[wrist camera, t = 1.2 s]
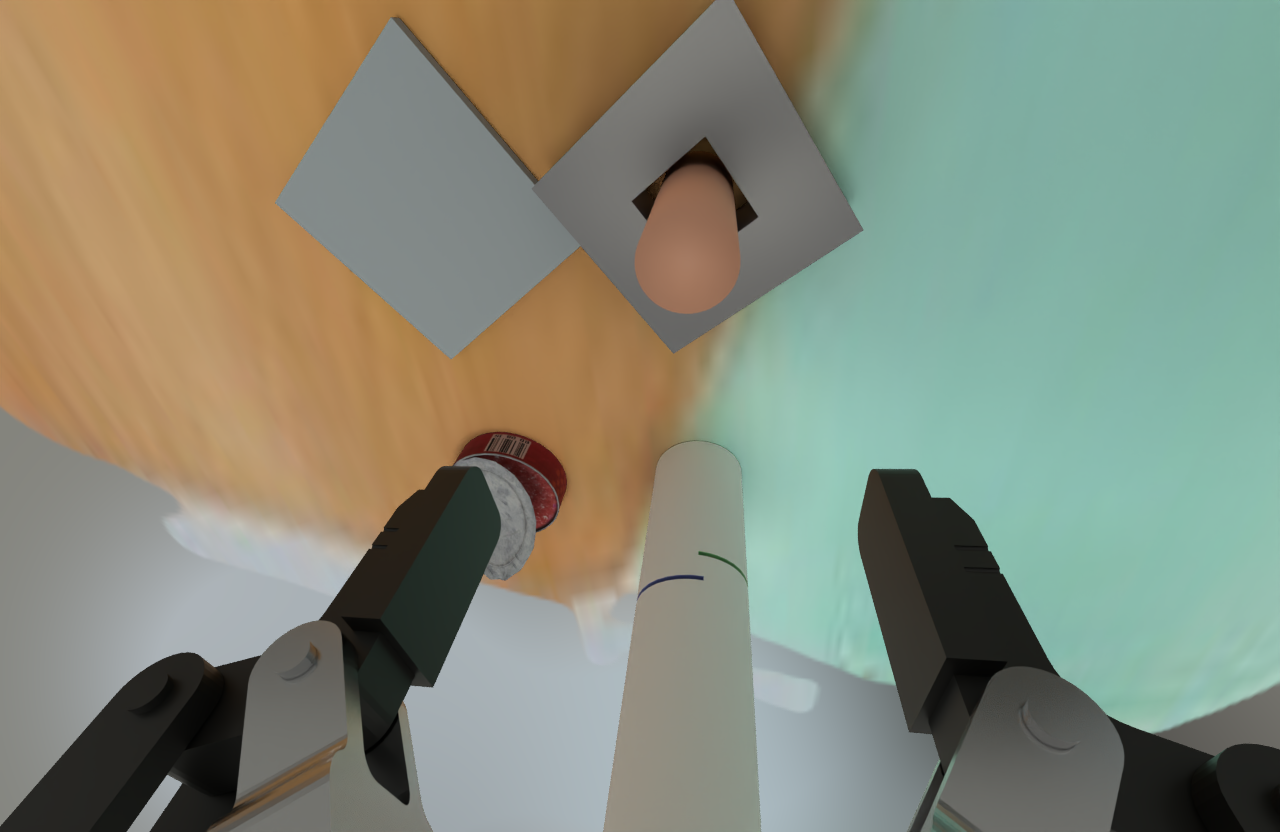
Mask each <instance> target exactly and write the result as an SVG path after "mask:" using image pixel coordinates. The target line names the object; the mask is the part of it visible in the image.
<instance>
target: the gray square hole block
mask: <svg viewBox="0 0 1280 832" xmlns="http://www.w3.org/2000/svg"><path fill="white" fill-rule="evenodd" d="M704 137H706V138H707V140H708V141H709V143H710V144H711V146H712V147H713V149H714V150H715V152H716V153H717V155H718V156H719V158H720V159H721V161H722V162H723V164H724V165H725V167H726V168H727V170H728V171H729V173H730V174H731V176H732V177H733V179H734V180H735V182H736V183H737V185H738V187H739V188H740V190H741V191H742V193H743V194H744V196H745V197H746V199H747V200H748V203H746V204H745V205H744V206H742V207H741V208H740V209H738V210H737V211H736V220H737V230H738V239H739V249H740V271H739V275H738V279H737V281H736V283H735V285H734V287H733V289H732V290H731V292H730V293H729V294H728V295H727V297H725V298H724V299H723V300H722V301H721V302H720V303H719V304H717V305H716V306H714V307H712V308H710V309H708V310H706V311H702V312H699V313H693V314H682V313H675V312H671V311H668V310H666V309H664V308H662V307H660V306H658V305H657V304H655V303H654V302H653V301H652V300H651V299H650V298H649V297H648V296H647V295H646V294H645V293H644V291H643V290H642V288H641V286H640V284H639V282H638V279H637V276H636V272H635V252H636V248H637V245H638V242H639V240H640V237H641V235H642V233H643V230H644V228H645V225H646V223H647V220H648V218H649V215H650V213H651V210H652V208H653V205H654V203H655V201H654V200H653V199H652V197H651V196H650V195H649V193H648V192H647V191H646V188H647V187H648V186H649V185H650V184H652V183H653V182H654V181H655V180H656V179H657V178H658V177H660V176H661V175H662V174H663V173H664V172H665V171H666V170H668V169H669V168H670V167H671V166H672V165H673V164H674V163H676V162H677V161H678V160H679V159H680V158H681V157H682V156H683V155H685V154H686V153H687V152H688V151H689V150H690V149H691V148H693V147H694V146H695V145H696V144H697V143H698V142H699V141H701V140H702V139H703V138H704ZM532 190H533V191H534V192H535V194H536V195H537V196H538V197H539V198H540V199H541V201H542V202H543V203H544V204H545V205H546V206H547V207H548V209H549V210H550V211H551V212H552V213H553V214H554V216H555V217H556V218H557V219H558V220H559V221H560V223H561V224H562V225H563V226H564V227H565V228H566V230H567V231H568V232H569V233H570V234H571V235H572V236H573V238H574V239H575V240H576V241H577V242H578V243H579V245H580V246H581V247H582V248H583V249H584V250H585V252H586V253H587V254H588V255H589V256H590V257H591V259H592V260H593V261H594V262H595V263H596V264H597V265H598V267H599V268H600V269H601V270H602V271H603V272H604V274H605V275H606V276H607V277H608V278H609V279H610V281H611V282H612V283H613V284H614V285H615V286H616V288H617V289H618V290H619V291H620V292H621V293H622V294H623V296H624V297H625V298H626V299H627V300H628V301H629V303H630V304H631V305H632V306H633V307H634V308H635V310H636V311H637V312H638V313H639V314H640V315H641V317H642V318H643V319H644V320H645V321H646V322H647V323H648V325H649V326H650V327H651V328H652V329H653V330H654V332H655V333H656V334H657V335H658V336H659V337H660V339H661V340H662V341H663V342H664V343H665V344H666V345H667V347H668V348H669V349H670V350H671V351H672V352H673V354H674V353H675V352H677V351H678V350H680V349H681V348H683V347H684V346H686V345H687V344H689V343H691V342H692V341H694V340H695V339H697V338H698V337H700V336H701V335H703V334H704V333H706V332H707V331H709V330H711V329H712V328H714V327H715V326H717V325H718V324H720V323H721V322H723V321H724V320H726V319H727V318H729V317H731V316H732V315H734V314H735V313H737V312H738V311H740V310H741V309H743V308H744V307H746V306H747V305H749V304H751V303H752V302H754V301H755V300H757V299H758V298H760V297H761V296H763V295H764V294H766V293H767V292H769V291H771V290H772V289H774V288H775V287H777V286H778V285H780V284H781V283H783V282H784V281H786V280H787V279H789V278H791V277H792V276H794V275H795V274H797V273H798V272H800V271H801V270H803V269H804V268H806V267H808V266H809V265H811V264H812V263H814V262H815V261H817V260H818V259H820V258H821V257H823V256H824V255H826V254H828V253H829V252H831V251H832V250H834V249H835V248H837V247H838V246H840V245H841V244H843V243H844V242H846V241H848V240H849V239H851V238H852V237H854V236H855V235H857V234H858V233H860V232H861V231H863V228H862V227H861V225H860V223H859V221H858V220H857V218H856V216H855V214H854V212H853V211H852V209H851V207H850V205H849V204H848V202H847V200H846V198H845V197H844V195H843V193H842V191H841V189H840V188H839V186H838V184H837V182H836V181H835V179H834V177H833V175H832V174H831V172H830V170H829V168H828V166H827V165H826V163H825V161H824V159H823V158H822V156H821V154H820V152H819V151H818V149H817V147H816V145H815V143H814V142H813V140H812V138H811V136H810V135H809V133H808V131H807V129H806V127H805V126H804V124H803V122H802V120H801V119H800V117H799V115H798V113H797V112H796V110H795V108H794V106H793V104H792V103H791V101H790V99H789V97H788V96H787V94H786V92H785V90H784V89H783V87H782V85H781V83H780V81H779V80H778V78H777V76H776V74H775V73H774V71H773V69H772V67H771V66H770V64H769V62H768V60H767V58H766V57H765V55H764V53H763V51H762V50H761V48H760V46H759V44H758V43H757V41H756V39H755V37H754V35H753V34H752V32H751V30H750V28H749V27H748V25H747V23H746V21H745V19H744V18H743V16H742V14H741V12H740V11H739V9H738V7H737V5H736V4H735V2H734V0H715V1H714V2H713V3H712V4H711V5H710V6H709V7H708V8H707V9H706V10H705V12H704V13H703V14H702V15H701V16H700V17H699V18H698V19H697V20H696V21H695V22H694V23H693V24H692V25H691V26H690V27H689V28H688V29H687V30H686V31H685V32H684V33H683V34H682V35H681V36H680V37H679V38H678V39H677V40H676V41H675V42H674V43H673V44H672V45H671V46H670V47H669V48H668V49H667V50H666V51H665V52H664V53H663V54H662V56H661V57H660V58H659V59H658V60H657V61H656V62H655V63H654V64H653V65H652V66H651V67H650V68H649V69H648V70H647V71H646V72H645V73H644V74H643V75H642V76H641V77H640V78H639V79H638V80H637V81H636V82H635V83H634V84H633V85H632V86H631V87H630V88H629V89H628V90H627V91H626V92H625V93H624V94H623V95H622V96H621V97H620V98H619V100H618V101H617V102H616V103H615V104H614V105H613V106H612V107H611V108H610V109H609V110H608V111H607V112H606V113H605V114H604V115H603V116H602V117H601V118H600V119H599V120H598V121H597V122H596V123H595V124H594V125H593V126H592V127H591V128H590V129H589V130H588V131H587V132H586V133H585V134H584V135H583V136H582V137H581V138H580V139H579V140H578V141H577V142H576V144H575V145H574V146H573V147H572V148H571V149H570V150H569V151H568V152H567V153H566V154H565V155H564V156H563V157H562V158H561V159H560V160H559V161H558V162H557V163H556V164H555V165H554V166H553V167H552V168H551V169H550V170H549V171H548V172H547V173H546V174H545V175H544V176H543V177H542V178H541V179H540V180H539V181H538V182H537V183H536V184H535V185H534V187H533V188H532Z"/></svg>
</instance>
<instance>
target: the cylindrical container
mask: <svg viewBox="0 0 1280 832" xmlns="http://www.w3.org/2000/svg"><path fill="white" fill-rule="evenodd" d="M603 832H761V819H760V801H759V784H758V764H757V747H756V728H755V709H754V691H753V673H752V654H751V637H750V618H749V600H748V581H747V563H746V545H745V527H744V508H743V490H742V473H741V467H740V464H739V462H738V460H737V459H736V458H735V456H734V455H733V454H732V453H730V452H729V451H728V450H727V449H725V448H723V447H721V446H719V445H716V444H714V443H710V442H705V441H689V442H684V443H680V444H678V445H675V446H673V447H671V448H670V449H668V450H667V451H665V453H664V454H663V455H662V456H661V457H660V459H659V461H658V463H657V467H656V473H655V480H654V487H653V494H652V501H651V507H650V514H649V521H648V528H647V535H646V542H645V549H644V555H643V562H642V569H641V576H640V583H639V590H638V597H637V604H636V610H635V617H634V624H633V631H632V638H631V645H630V651H629V658H628V665H627V672H626V680H625V686H624V693H623V699H622V707H621V713H620V720H619V727H618V734H617V740H616V747H615V754H614V762H613V768H612V775H611V782H610V788H609V796H608V802H607V810H606V816H605V823H604V830H603Z"/></svg>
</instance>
